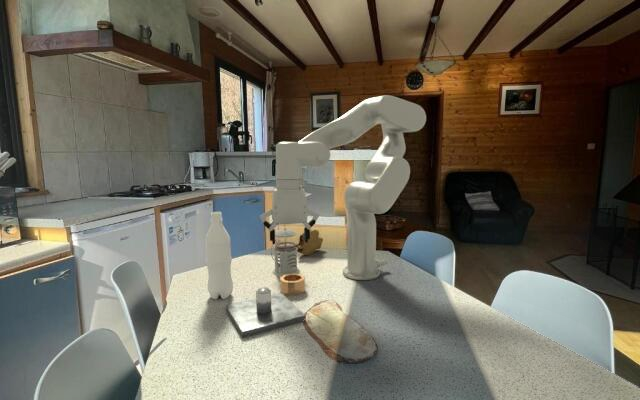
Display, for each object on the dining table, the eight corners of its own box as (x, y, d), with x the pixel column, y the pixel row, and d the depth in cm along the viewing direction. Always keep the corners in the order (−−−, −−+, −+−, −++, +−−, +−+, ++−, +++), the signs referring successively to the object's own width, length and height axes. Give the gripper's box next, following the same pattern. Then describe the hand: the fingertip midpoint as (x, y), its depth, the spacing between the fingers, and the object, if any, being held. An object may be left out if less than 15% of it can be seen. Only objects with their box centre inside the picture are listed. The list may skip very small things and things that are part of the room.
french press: (305, 269, 125) (304, 200, 121) (285, 280, 115) (283, 205, 111) (283, 265, 130) (281, 198, 126) (262, 274, 120) (259, 202, 117)
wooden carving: (314, 248, 152) (314, 225, 150) (323, 249, 149) (323, 226, 148) (292, 258, 138) (292, 233, 136) (302, 260, 135) (302, 235, 134)
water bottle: (226, 302, 99) (221, 215, 96) (203, 300, 101) (197, 214, 97) (237, 292, 106) (233, 210, 103) (215, 290, 108) (210, 210, 104)
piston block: (281, 297, 102) (280, 274, 101) (305, 320, 88) (304, 293, 87) (225, 310, 94) (224, 285, 93) (242, 338, 80) (241, 308, 79)
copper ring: (298, 284, 112) (298, 272, 111) (308, 292, 105) (308, 279, 105) (277, 288, 108) (276, 276, 108) (286, 297, 102) (286, 284, 101)
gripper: (316, 183, 107) (316, 238, 109) (259, 184, 104) (260, 240, 106) (321, 185, 100) (320, 244, 102) (259, 186, 97) (260, 247, 99)
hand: (289, 242), depth 104 cm, fingers open, 9 cm apart
